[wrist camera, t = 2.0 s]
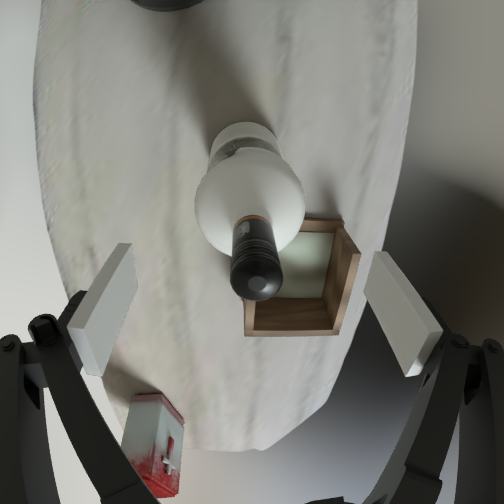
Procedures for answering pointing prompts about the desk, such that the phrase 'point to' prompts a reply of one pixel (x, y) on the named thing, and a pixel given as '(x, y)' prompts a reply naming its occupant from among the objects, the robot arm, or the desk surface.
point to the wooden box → (308, 284)
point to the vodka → (250, 207)
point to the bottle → (154, 443)
